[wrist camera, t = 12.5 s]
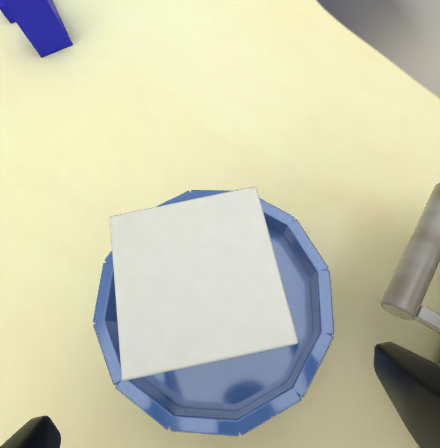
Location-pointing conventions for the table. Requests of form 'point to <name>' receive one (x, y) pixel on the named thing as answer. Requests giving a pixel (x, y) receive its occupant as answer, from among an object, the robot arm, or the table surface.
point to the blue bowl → (242, 365)
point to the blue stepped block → (38, 23)
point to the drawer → (417, 269)
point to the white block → (196, 284)
